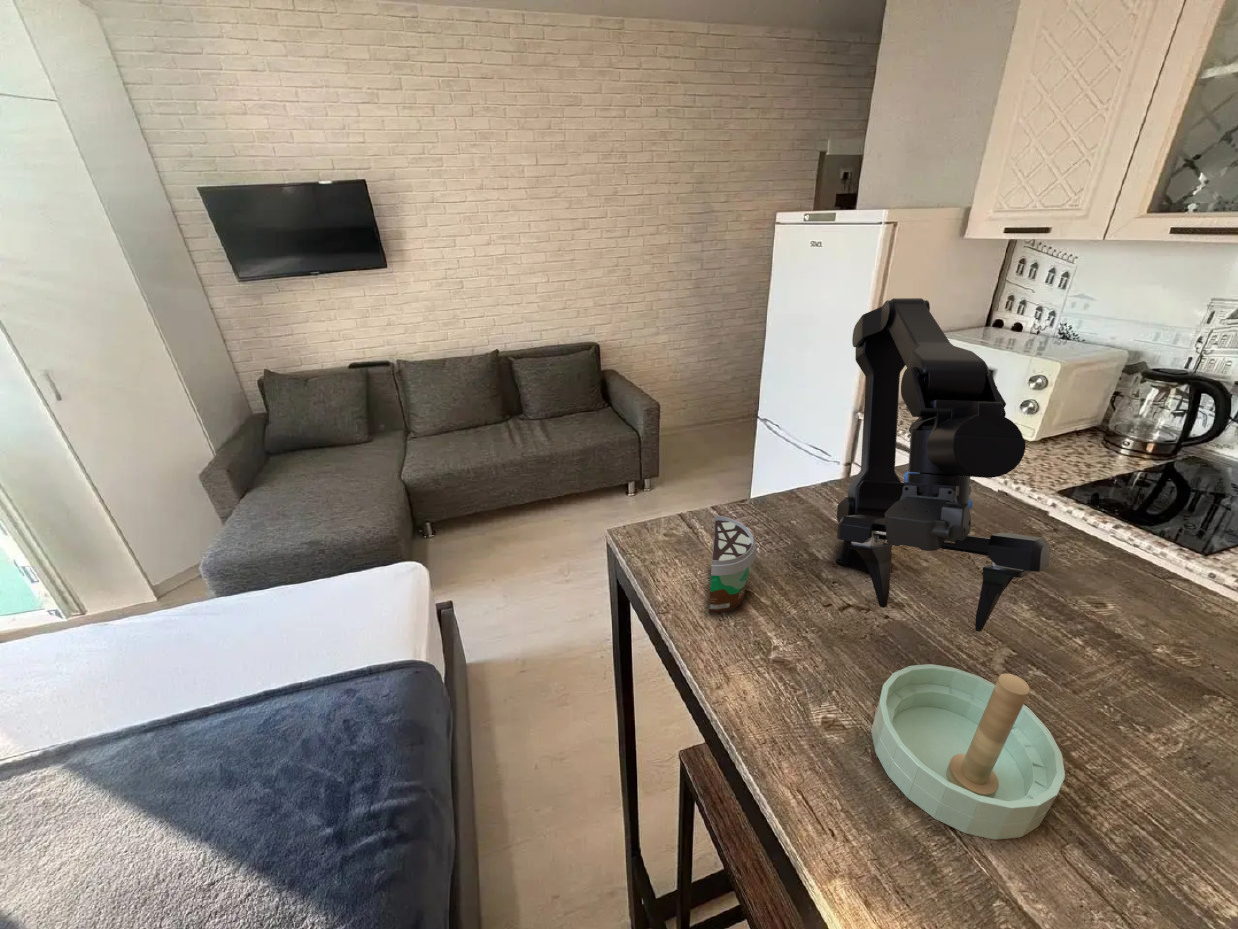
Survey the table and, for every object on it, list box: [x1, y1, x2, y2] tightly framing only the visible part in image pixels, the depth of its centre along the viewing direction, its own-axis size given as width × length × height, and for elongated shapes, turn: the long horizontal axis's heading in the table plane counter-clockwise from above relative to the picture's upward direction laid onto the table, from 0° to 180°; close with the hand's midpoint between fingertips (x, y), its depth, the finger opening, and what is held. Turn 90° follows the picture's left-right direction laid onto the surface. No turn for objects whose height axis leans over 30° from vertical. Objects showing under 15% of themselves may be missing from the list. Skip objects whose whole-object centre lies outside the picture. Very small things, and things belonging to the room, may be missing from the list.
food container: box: [708, 514, 757, 614], centre depth 74 cm, size 12×6×10 cm, turn 168°
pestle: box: [946, 673, 1031, 798], centre depth 47 cm, size 4×4×14 cm
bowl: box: [870, 663, 1066, 841], centre depth 51 cm, size 15×15×6 cm
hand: (928, 618), depth 55 cm, fingers open, 9 cm apart
